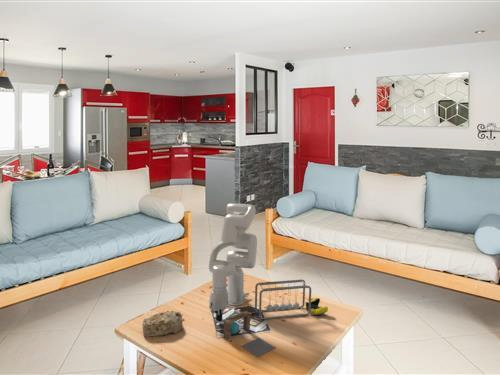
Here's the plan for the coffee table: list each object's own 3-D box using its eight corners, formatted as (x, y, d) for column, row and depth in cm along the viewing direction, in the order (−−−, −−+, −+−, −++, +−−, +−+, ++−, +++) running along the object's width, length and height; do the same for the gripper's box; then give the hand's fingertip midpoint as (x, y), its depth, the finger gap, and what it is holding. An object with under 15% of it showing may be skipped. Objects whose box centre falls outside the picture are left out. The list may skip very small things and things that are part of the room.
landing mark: (258, 337, 207) (258, 337, 207) (275, 347, 198) (275, 347, 198) (240, 346, 199) (240, 345, 199) (257, 356, 190) (257, 356, 190)
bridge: (223, 337, 207) (223, 319, 205) (246, 328, 217) (246, 310, 215) (227, 340, 205) (227, 322, 203) (249, 330, 214) (250, 313, 213)
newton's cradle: (303, 307, 242) (305, 278, 239) (310, 315, 232) (311, 285, 229) (254, 312, 235) (255, 282, 232) (259, 320, 225) (259, 290, 222)
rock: (144, 342, 203) (141, 321, 204) (143, 334, 217) (140, 315, 218) (185, 332, 209) (182, 312, 210) (182, 325, 223) (179, 306, 223)
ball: (238, 335, 212) (232, 325, 216) (242, 327, 209) (236, 318, 213) (229, 338, 208) (223, 328, 212) (233, 330, 205) (227, 320, 209)
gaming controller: (318, 305, 246) (302, 306, 243) (318, 296, 245) (303, 297, 243) (329, 316, 232) (312, 318, 229) (329, 307, 231) (313, 309, 228)
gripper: (225, 282, 226) (225, 313, 229) (203, 289, 216) (203, 322, 219) (234, 286, 221) (234, 318, 224) (212, 294, 211) (212, 327, 214)
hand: (219, 320), depth 221 cm, fingers closed
